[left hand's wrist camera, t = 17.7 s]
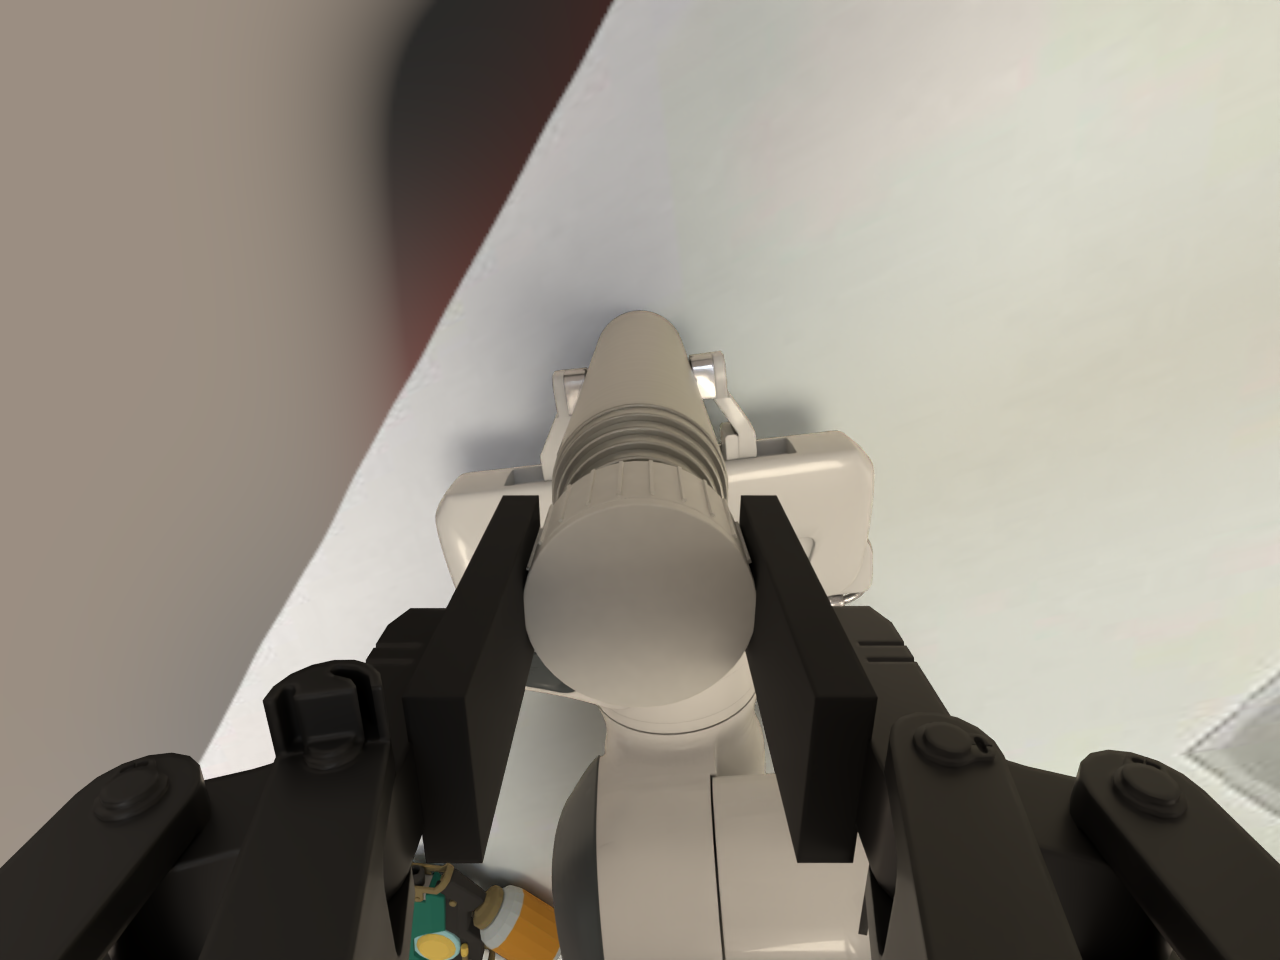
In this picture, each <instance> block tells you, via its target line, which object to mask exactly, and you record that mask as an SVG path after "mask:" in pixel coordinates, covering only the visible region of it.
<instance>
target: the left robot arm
mask: <svg viewBox="0 0 1280 960" xmlns="http://www.w3.org/2000/svg"><path fill="white" fill-rule="evenodd" d="M739 526H740V529H741V532H742V535H743V538H744V541H745V544H746V547H747V550H748V553H749V556H750V559H751V562H752V563H749V566H750V569H751V572H752V575H753V579H754V583H755V587H756V606H755V620H754V631H753V634H752V637H751V639H750V642H749V644H748V646H747V648H746V650H745V652H746V657H747V661H748V665H749V669H750V673H751V677H752V681H753V685H754V689H755V693H756V697H757V701H758V705H759V709H760V714H761V718H762V722H763V726H764V730H765V734H766V738H767V742H768V746H769V750H770V754H771V758H772V762H773V767H774V771H775V775H776V779H777V783H778V787H779V791H780V795H781V799H782V803H783V807H784V811H785V815H786V819H787V824H788V828H789V832H790V836H791V840H792V844H793V848H794V852H795V856H796V860H797V863H853V861H854V854H855V847H856V840H857V834H859V837H860V839H861V842H862V845H863V848H864V851H865V853H866V856H867V859H868V862H869V867H868V874H867V880H866V886H865V892H864V898H863V905H862V911H861V917H860V924H859V931H858V934H861V935H866V936H867V933H868V930H869V940H870V950H871V960H1280V864H1279V863H1278V862H1277V861H1276V860H1275V859H1274V858H1273V857H1272V856H1271V855H1270V854H1269V853H1268V852H1267V851H1266V850H1265V849H1264V848H1263V847H1262V846H1261V845H1260V844H1259V843H1258V842H1257V841H1256V840H1255V839H1253V838H1252V837H1251V836H1250V835H1249V834H1248V833H1247V832H1246V831H1245V830H1244V829H1243V828H1242V827H1241V826H1240V825H1239V824H1238V823H1237V822H1236V821H1235V820H1234V819H1233V818H1232V817H1231V816H1230V815H1229V814H1228V813H1227V812H1226V811H1225V810H1224V809H1223V808H1222V807H1221V806H1220V805H1219V804H1218V803H1217V802H1216V801H1215V800H1213V799H1212V798H1211V797H1210V796H1209V795H1208V794H1207V793H1206V792H1205V791H1204V790H1203V789H1202V788H1200V787H1199V786H1198V785H1196V784H1195V783H1194V782H1193V781H1191V780H1190V779H1189V778H1187V777H1186V776H1185V775H1184V774H1182V773H1180V772H1178V771H1176V770H1174V769H1172V768H1170V767H1169V766H1167V765H1165V764H1163V763H1161V762H1159V761H1157V760H1154V759H1151V758H1148V757H1144V756H1141V755H1138V754H1135V753H1132V752H1124V751H1115V750H1104V751H1099V752H1094V753H1090V754H1089V755H1088V756H1087V757H1086V758H1085V759H1084V760H1082V761H1081V763H1080V766H1079V769H1078V773H1077V776H1076V777H1072V776H1067V775H1063V774H1058V773H1054V772H1050V771H1045V770H1041V769H1037V768H1032V767H1028V766H1024V765H1021V764H1018V763H1014V762H1011V761H1008V760H1006V759H1005V757H1004V755H1003V753H1002V752H1001V750H1000V749H999V747H998V746H997V744H996V743H995V741H994V740H993V739H991V738H990V737H989V736H988V735H987V734H985V733H984V732H983V731H982V730H980V729H979V728H978V727H976V726H974V725H972V724H970V723H968V722H966V721H964V720H962V719H959V718H957V717H953V716H950V714H949V713H948V711H947V709H946V708H945V706H944V705H943V703H942V702H941V700H940V698H939V697H938V695H937V694H936V692H935V690H934V689H933V687H932V686H931V684H930V682H929V681H928V679H927V678H926V676H925V675H924V673H923V671H922V670H921V668H920V667H919V665H918V663H917V662H914V657H913V655H912V654H911V652H910V651H909V649H908V648H907V646H904V641H903V640H902V638H901V636H900V635H899V633H898V632H897V630H896V629H895V627H894V625H893V624H892V622H890V621H889V620H888V619H886V618H885V617H883V616H882V615H881V614H879V613H878V612H877V611H875V610H874V609H873V608H871V607H870V606H832V605H831V603H830V601H829V599H828V597H827V595H826V593H825V591H824V589H823V587H822V585H821V583H820V581H819V579H818V577H817V575H816V573H815V571H814V569H813V567H812V565H811V563H810V561H809V559H808V557H807V555H806V553H805V551H804V549H803V547H802V545H801V543H800V541H799V539H798V537H797V535H796V533H795V531H794V529H793V527H792V525H791V523H790V521H789V519H788V517H787V515H786V513H785V511H784V509H783V507H782V505H781V503H780V501H779V499H778V497H777V495H741V500H740V517H739ZM539 528H541V525H540V508H539V495H503V496H502V498H501V500H500V502H499V504H498V506H497V508H496V510H495V512H494V514H493V516H492V518H491V520H490V522H489V524H488V526H487V528H486V530H485V532H484V534H483V536H482V538H481V540H480V542H479V544H478V546H477V548H476V550H475V552H474V554H473V556H472V558H471V560H470V562H469V564H468V566H467V568H466V570H465V572H464V574H463V576H462V578H461V580H460V582H459V584H458V586H457V588H456V590H455V592H454V594H453V596H452V598H451V600H450V602H449V604H448V606H447V608H410V609H409V610H407V611H406V612H405V613H403V614H402V615H401V616H399V617H398V618H397V619H395V620H394V621H393V622H391V623H390V624H388V626H387V627H386V629H385V630H384V632H383V634H382V635H381V637H380V638H379V640H378V642H377V643H376V648H373V650H372V651H371V653H370V654H369V656H368V658H367V659H366V663H364V662H360V661H357V660H332V661H328V662H323V663H319V664H314V665H311V666H309V667H306V668H304V669H302V670H299V671H297V672H295V673H292V674H290V675H289V676H287V677H286V678H285V679H283V680H282V681H280V682H279V683H278V684H276V685H275V686H273V688H272V689H271V690H270V692H269V693H268V694H267V695H266V697H265V698H264V699H263V704H264V709H265V713H266V717H267V721H268V725H269V730H270V734H271V738H272V742H273V746H274V751H275V755H276V758H275V760H274V763H272V764H268V765H265V766H262V767H258V768H255V769H251V770H247V771H243V772H238V773H234V774H229V775H225V776H221V777H216V778H212V779H208V780H204V778H203V775H202V771H201V768H200V765H199V764H198V763H197V762H196V761H195V760H193V759H192V758H191V757H190V756H187V755H181V754H176V753H165V754H157V755H148V756H145V757H142V758H139V759H136V760H133V761H130V762H127V763H124V764H121V765H120V766H118V767H116V768H114V769H112V770H110V771H108V772H106V773H104V774H102V775H101V776H99V777H97V778H96V779H94V780H93V781H92V782H91V783H89V784H88V785H87V786H85V787H84V788H83V789H82V790H80V791H79V792H78V793H77V794H75V795H74V796H73V797H72V798H71V799H70V800H69V801H68V802H67V803H66V804H65V805H64V806H63V807H62V808H61V809H60V810H59V811H58V812H57V813H56V814H55V815H54V816H53V817H52V818H51V819H50V820H49V821H48V822H47V823H46V824H45V825H44V826H43V827H42V828H41V829H40V830H39V831H38V832H37V833H36V834H35V835H34V836H33V837H32V838H31V839H30V840H29V841H28V842H26V843H25V844H24V845H23V846H22V847H21V848H20V849H19V850H18V851H17V852H16V853H15V854H14V855H13V856H12V857H11V858H10V859H9V860H8V861H7V862H6V863H5V864H4V865H3V866H2V867H1V868H0V960H409V952H410V942H411V931H412V921H413V911H414V900H415V887H414V880H413V874H412V867H411V864H412V861H413V858H414V855H415V853H416V850H417V847H418V844H419V841H420V839H421V836H422V837H423V843H424V850H425V857H426V863H482V862H483V858H484V854H485V850H486V846H487V842H488V838H489V834H490V830H491V826H492V822H493V818H494V814H495V810H496V805H497V801H498V797H499V793H500V789H501V785H502V781H503V777H504V773H505V769H506V765H507V761H508V757H509V753H510V748H511V744H512V740H513V736H514V732H515V728H516V724H517V720H518V716H519V712H520V708H521V704H522V700H523V695H524V691H525V687H526V683H527V679H528V675H529V671H530V667H531V663H532V659H533V655H534V651H535V650H534V648H533V646H532V644H531V642H530V639H529V637H528V634H527V631H526V626H525V612H524V587H525V583H526V579H527V576H528V572H529V571H527V570H526V568H527V565H528V562H529V559H530V556H531V553H532V550H533V547H534V544H535V541H536V538H537V535H538V532H539ZM1174 951H1175V952H1174ZM1177 955H1178V956H1177Z"/></svg>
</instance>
